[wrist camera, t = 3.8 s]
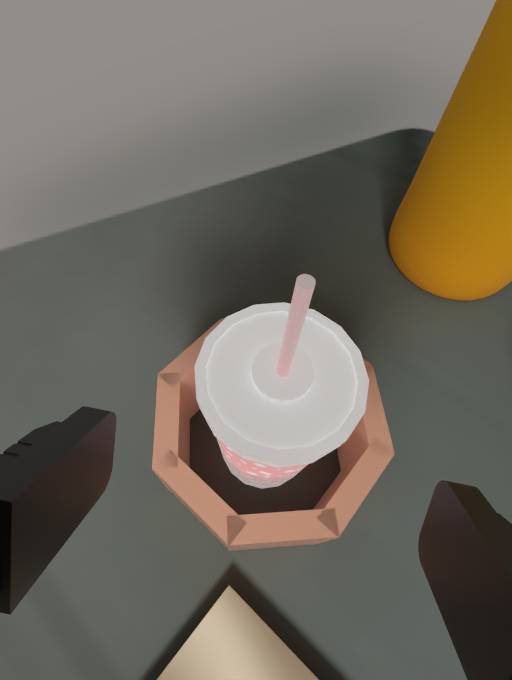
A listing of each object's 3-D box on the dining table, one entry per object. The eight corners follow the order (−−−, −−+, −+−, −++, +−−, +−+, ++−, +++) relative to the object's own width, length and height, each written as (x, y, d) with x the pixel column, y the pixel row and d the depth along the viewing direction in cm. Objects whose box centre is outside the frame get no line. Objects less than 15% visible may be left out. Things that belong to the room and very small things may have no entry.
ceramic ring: (254, 333, 25) (259, 283, 21) (389, 437, 22) (428, 404, 18) (131, 451, 21) (104, 420, 16) (276, 599, 18) (290, 609, 13)
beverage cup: (214, 388, 23) (195, 185, 11) (318, 396, 23) (414, 205, 11) (200, 499, 20) (150, 390, 8) (320, 509, 20) (460, 415, 8)
